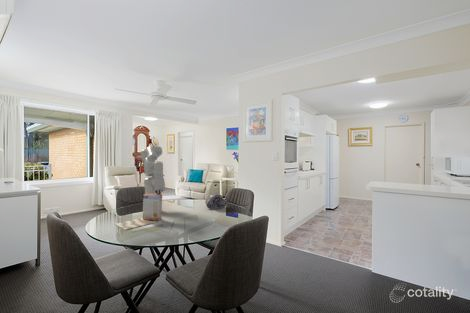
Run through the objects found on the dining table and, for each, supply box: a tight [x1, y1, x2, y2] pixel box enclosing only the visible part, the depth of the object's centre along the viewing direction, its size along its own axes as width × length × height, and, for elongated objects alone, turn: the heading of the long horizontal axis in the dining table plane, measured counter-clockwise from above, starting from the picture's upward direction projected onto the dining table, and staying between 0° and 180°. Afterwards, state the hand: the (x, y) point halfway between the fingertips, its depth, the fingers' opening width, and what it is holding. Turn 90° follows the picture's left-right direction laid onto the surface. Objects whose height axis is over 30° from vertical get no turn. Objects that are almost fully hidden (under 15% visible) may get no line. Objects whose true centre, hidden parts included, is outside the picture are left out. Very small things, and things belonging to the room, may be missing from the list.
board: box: [114, 217, 154, 231], centre depth 183 cm, size 22×20×1 cm
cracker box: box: [142, 193, 163, 222], centre depth 193 cm, size 14×6×21 cm, turn 84°
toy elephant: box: [205, 193, 228, 210], centre depth 233 cm, size 20×18×15 cm
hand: (158, 198), depth 198 cm, fingers closed
